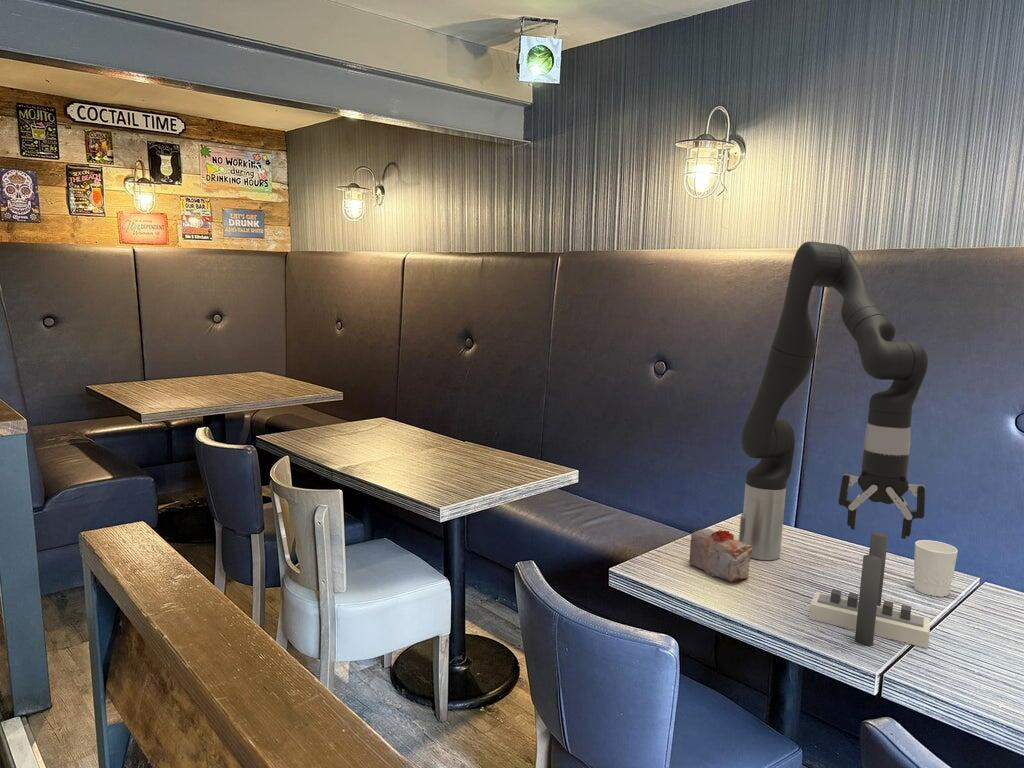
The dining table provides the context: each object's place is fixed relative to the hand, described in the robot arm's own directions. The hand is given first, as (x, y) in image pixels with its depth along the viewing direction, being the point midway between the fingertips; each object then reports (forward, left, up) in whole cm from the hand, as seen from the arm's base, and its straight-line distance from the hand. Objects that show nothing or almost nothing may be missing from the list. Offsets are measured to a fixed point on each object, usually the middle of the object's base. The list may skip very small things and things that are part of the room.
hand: (878, 533), depth 134 cm
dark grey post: (0, -8, -19) cm, 20 cm away
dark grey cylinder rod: (0, +8, -19) cm, 20 cm away
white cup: (+10, +27, -19) cm, 34 cm away
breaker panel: (0, 0, -19) cm, 19 cm away
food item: (-31, +9, -19) cm, 37 cm away
